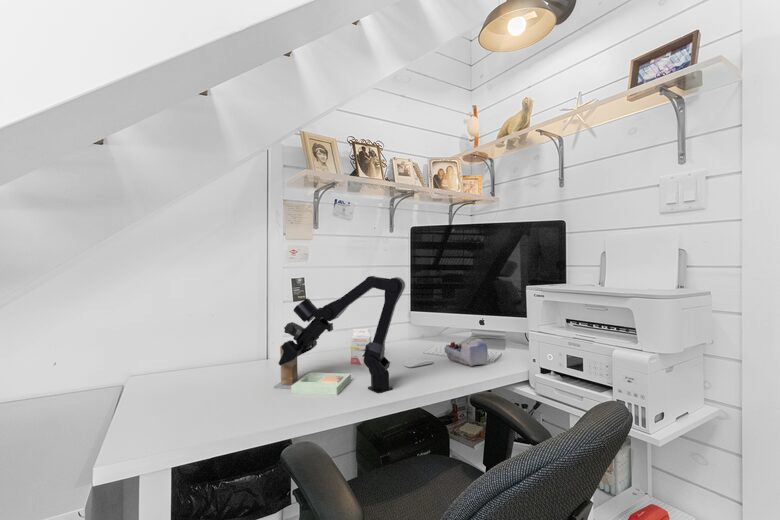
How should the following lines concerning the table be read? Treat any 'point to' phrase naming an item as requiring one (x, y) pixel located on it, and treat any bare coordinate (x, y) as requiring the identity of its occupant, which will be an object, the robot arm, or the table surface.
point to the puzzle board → (321, 383)
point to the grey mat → (282, 386)
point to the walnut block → (288, 371)
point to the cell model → (468, 352)
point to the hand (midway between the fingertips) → (285, 361)
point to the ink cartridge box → (359, 345)
